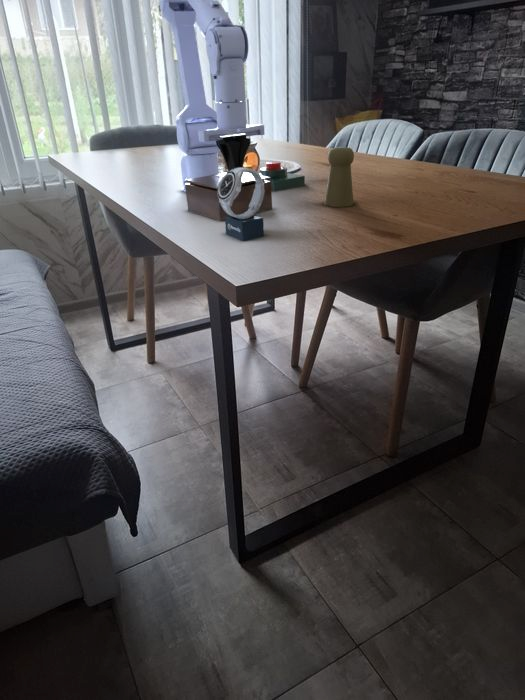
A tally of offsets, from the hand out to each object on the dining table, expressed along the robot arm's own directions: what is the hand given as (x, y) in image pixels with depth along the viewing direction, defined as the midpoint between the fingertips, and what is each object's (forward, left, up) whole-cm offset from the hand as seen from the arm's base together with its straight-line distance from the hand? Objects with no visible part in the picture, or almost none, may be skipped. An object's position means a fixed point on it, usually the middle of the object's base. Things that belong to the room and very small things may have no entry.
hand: (235, 176), depth 98 cm
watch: (+17, -11, -6) cm, 21 cm away
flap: (0, +1, 0) cm, 1 cm away
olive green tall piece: (+13, +17, -6) cm, 22 cm away
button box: (-13, +21, -6) cm, 25 cm away
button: (-13, +21, -3) cm, 25 cm away
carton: (0, -2, -6) cm, 7 cm away
